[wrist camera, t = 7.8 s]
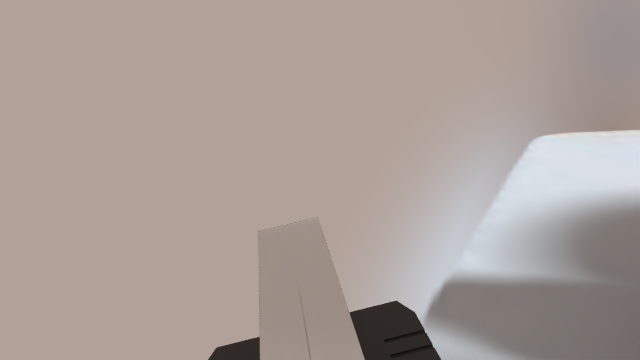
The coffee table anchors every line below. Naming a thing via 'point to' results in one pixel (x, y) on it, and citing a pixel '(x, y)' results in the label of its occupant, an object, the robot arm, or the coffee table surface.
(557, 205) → the coffee table surface
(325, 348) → the robot arm
